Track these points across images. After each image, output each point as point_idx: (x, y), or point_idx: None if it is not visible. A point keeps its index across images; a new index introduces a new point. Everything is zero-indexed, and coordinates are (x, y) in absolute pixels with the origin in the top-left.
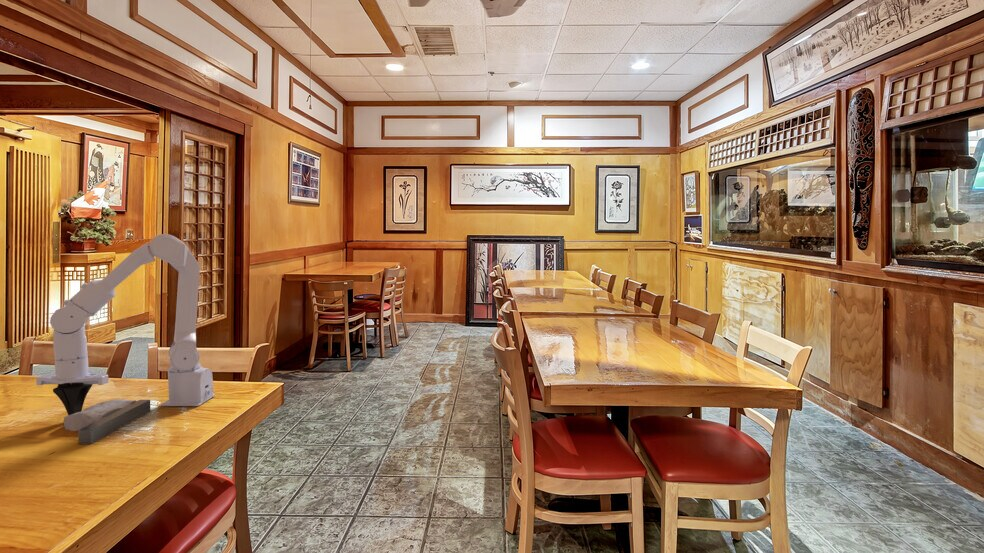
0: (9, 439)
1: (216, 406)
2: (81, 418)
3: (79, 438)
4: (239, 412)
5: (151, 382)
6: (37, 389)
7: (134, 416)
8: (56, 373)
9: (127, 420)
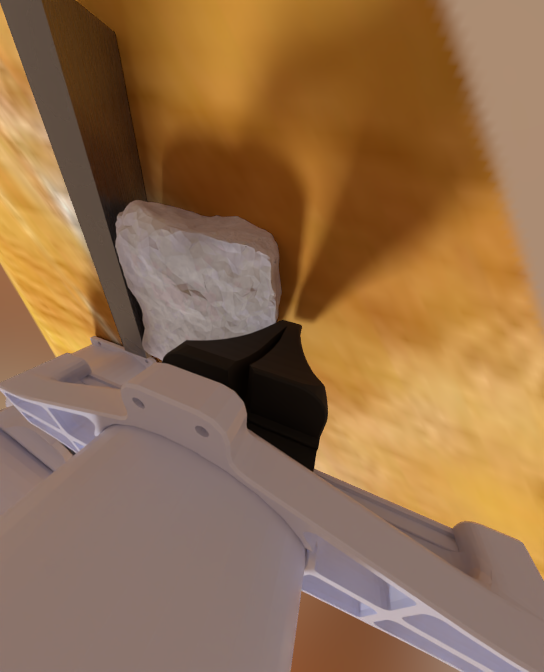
0: (473, 118)
1: (70, 326)
2: (187, 222)
3: (84, 10)
4: (12, 280)
5: None
6: None
7: None
8: (190, 622)
9: None
